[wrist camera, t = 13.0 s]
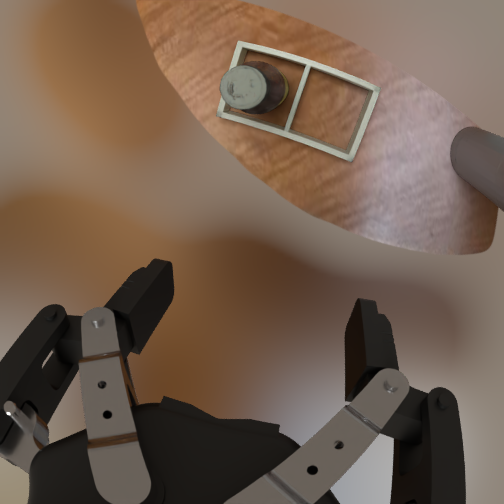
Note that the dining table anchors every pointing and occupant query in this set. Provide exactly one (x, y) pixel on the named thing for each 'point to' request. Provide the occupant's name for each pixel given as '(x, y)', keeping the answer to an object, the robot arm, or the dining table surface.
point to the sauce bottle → (254, 87)
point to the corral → (286, 131)
